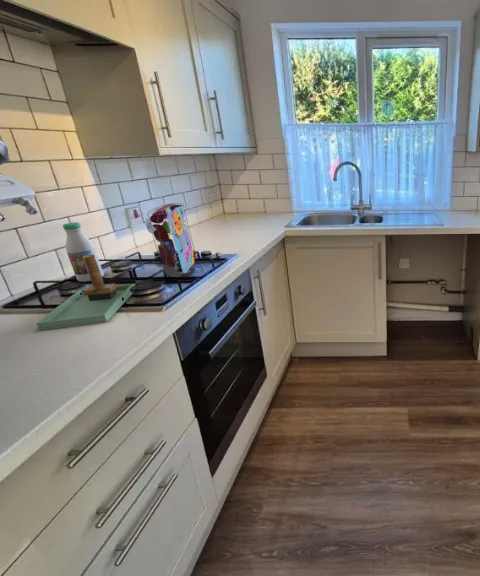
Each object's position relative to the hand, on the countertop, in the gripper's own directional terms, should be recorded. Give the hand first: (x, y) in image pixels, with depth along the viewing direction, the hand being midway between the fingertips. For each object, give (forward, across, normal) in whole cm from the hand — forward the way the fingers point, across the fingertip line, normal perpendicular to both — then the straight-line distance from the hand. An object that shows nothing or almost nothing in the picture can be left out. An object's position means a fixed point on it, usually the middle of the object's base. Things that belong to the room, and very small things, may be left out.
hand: (19, 216), depth 92 cm
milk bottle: (+11, -30, -29) cm, 43 cm away
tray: (+24, -5, -15) cm, 29 cm away
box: (+34, -28, -5) cm, 44 cm away
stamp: (+23, -11, -16) cm, 30 cm away
